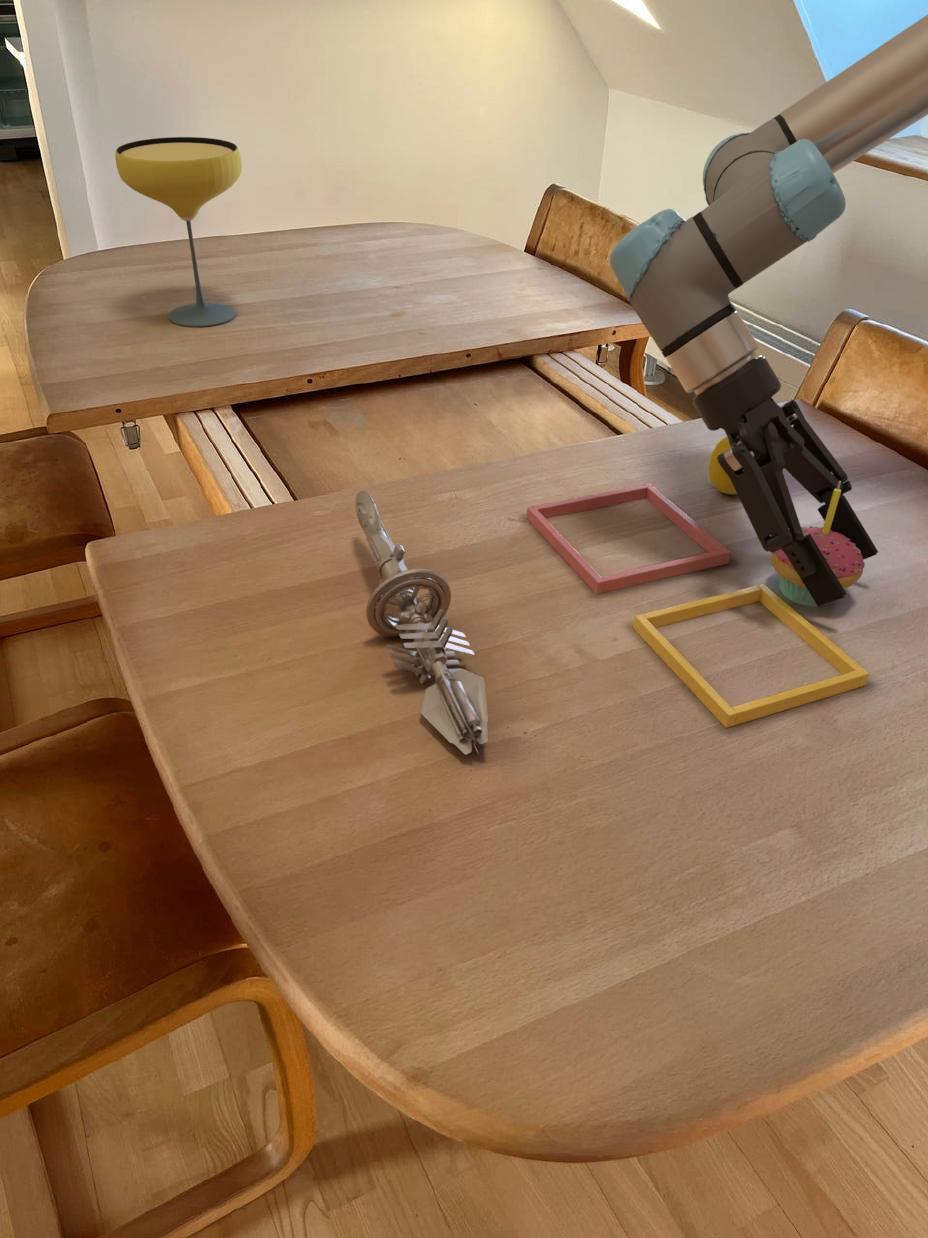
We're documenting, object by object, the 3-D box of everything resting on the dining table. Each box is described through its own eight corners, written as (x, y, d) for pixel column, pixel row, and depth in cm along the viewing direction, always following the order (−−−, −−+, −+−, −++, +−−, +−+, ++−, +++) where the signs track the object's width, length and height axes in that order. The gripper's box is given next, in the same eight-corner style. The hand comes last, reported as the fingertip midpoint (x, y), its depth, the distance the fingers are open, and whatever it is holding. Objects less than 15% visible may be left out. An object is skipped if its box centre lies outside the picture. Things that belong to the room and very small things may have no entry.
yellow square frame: (759, 600, 92) (763, 583, 91) (863, 691, 82) (869, 673, 80) (631, 632, 87) (634, 615, 86) (724, 733, 77) (729, 715, 76)
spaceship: (405, 469, 96) (334, 453, 91) (541, 714, 72) (453, 708, 68) (377, 531, 100) (308, 519, 96) (497, 783, 76) (411, 781, 72)
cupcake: (768, 565, 97) (796, 461, 90) (853, 585, 95) (889, 479, 88) (756, 610, 91) (784, 501, 84) (847, 632, 88) (884, 522, 81)
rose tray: (647, 498, 108) (649, 483, 107) (727, 568, 97) (731, 552, 96) (526, 523, 103) (527, 507, 102) (595, 599, 92) (598, 582, 90)
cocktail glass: (267, 298, 161) (251, 138, 146) (245, 337, 147) (223, 163, 131) (163, 295, 161) (135, 134, 146) (130, 333, 147) (95, 159, 132)
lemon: (698, 501, 108) (711, 437, 103) (709, 480, 112) (722, 418, 107) (746, 512, 106) (761, 448, 101) (756, 491, 110) (771, 428, 105)
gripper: (739, 362, 97) (850, 546, 99) (640, 431, 83) (772, 643, 85) (801, 323, 91) (918, 519, 93) (706, 390, 77) (846, 618, 79)
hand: (848, 578), depth 89 cm, fingers closed on cupcake, 8 cm apart
